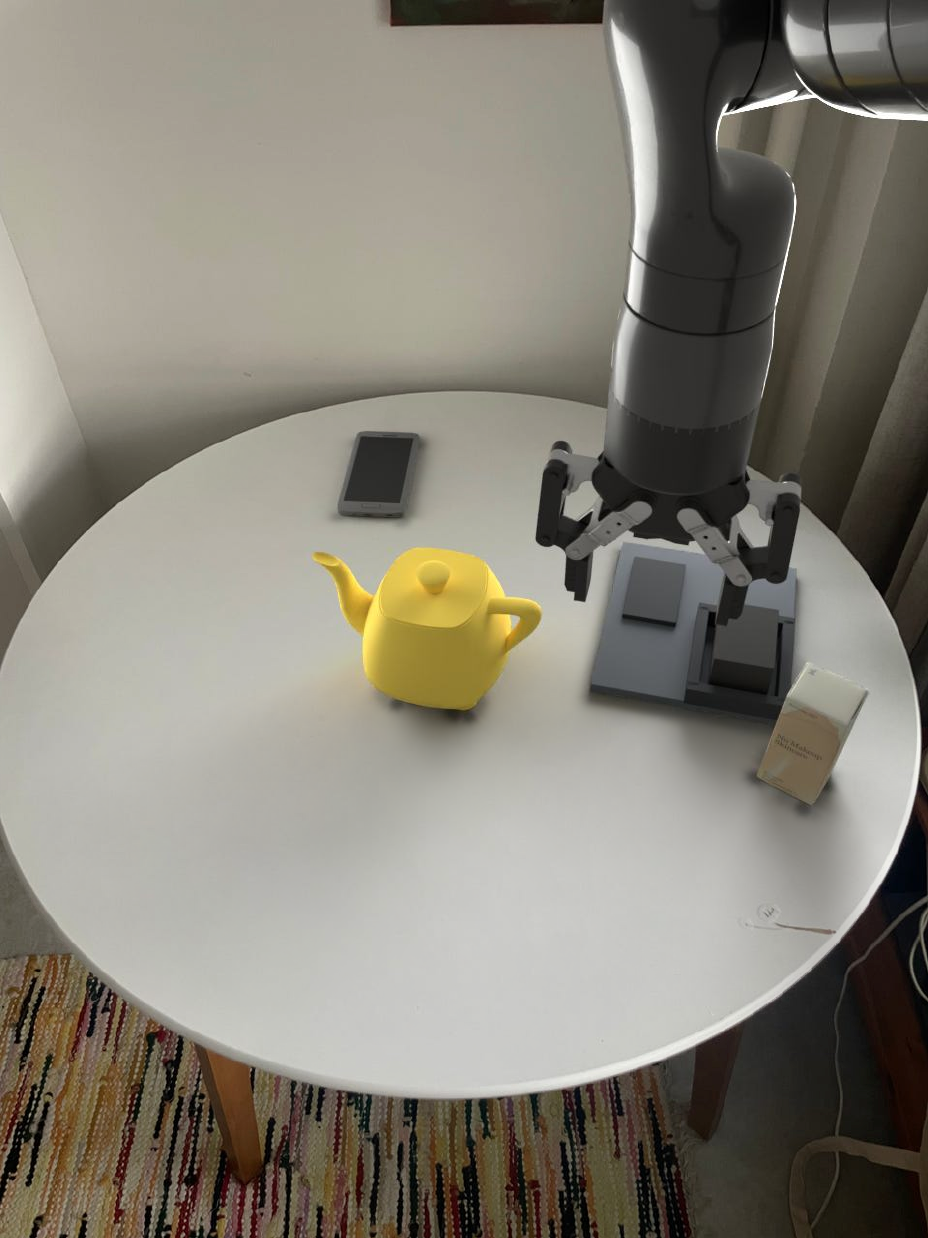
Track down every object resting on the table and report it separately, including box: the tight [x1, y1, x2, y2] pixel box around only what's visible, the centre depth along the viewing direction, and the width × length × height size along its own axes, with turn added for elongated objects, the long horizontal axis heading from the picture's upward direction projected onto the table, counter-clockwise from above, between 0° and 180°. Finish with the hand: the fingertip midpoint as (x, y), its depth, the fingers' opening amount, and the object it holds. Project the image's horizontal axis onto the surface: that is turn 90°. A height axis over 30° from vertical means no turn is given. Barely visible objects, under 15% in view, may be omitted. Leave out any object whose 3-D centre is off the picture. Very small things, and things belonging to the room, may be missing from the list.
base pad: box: [589, 541, 798, 726], centre depth 95 cm, size 17×19×3 cm
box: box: [756, 661, 870, 806], centre depth 81 cm, size 5×4×11 cm
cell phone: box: [337, 430, 421, 518], centre depth 112 cm, size 7×14×1 cm, turn 175°
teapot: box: [311, 546, 543, 711], centre depth 89 cm, size 13×20×12 cm
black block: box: [708, 604, 779, 695], centre depth 90 cm, size 5×7×4 cm
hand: (651, 603), depth 63 cm, fingers open, 8 cm apart
